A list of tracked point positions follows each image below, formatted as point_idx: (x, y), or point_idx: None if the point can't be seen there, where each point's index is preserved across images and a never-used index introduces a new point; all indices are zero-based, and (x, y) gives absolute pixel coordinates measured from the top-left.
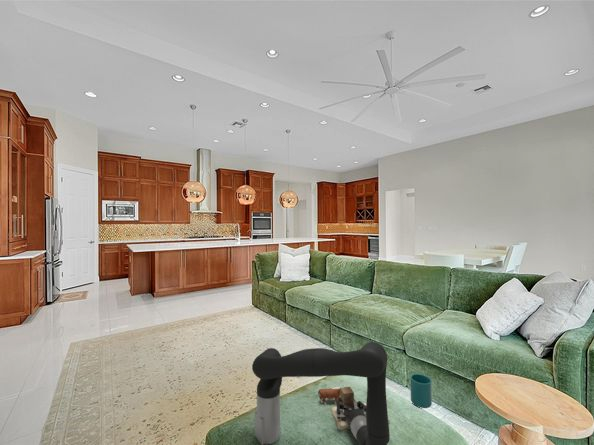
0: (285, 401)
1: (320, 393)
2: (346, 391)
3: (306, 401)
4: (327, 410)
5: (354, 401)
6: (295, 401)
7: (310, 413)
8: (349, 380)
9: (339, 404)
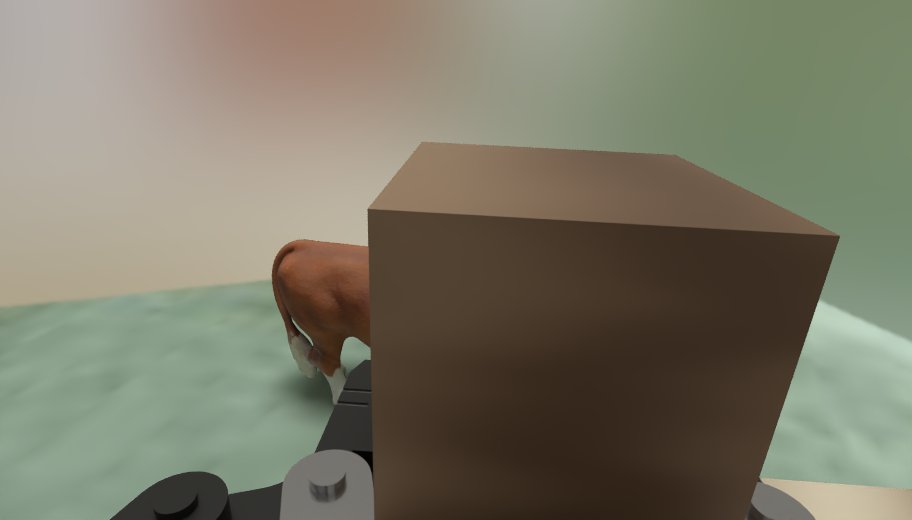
0: (60, 313)
1: (279, 279)
2: (529, 186)
3: (215, 340)
4: None
5: (750, 515)
6: (131, 325)
7: (99, 459)
8: None
9: (258, 507)
